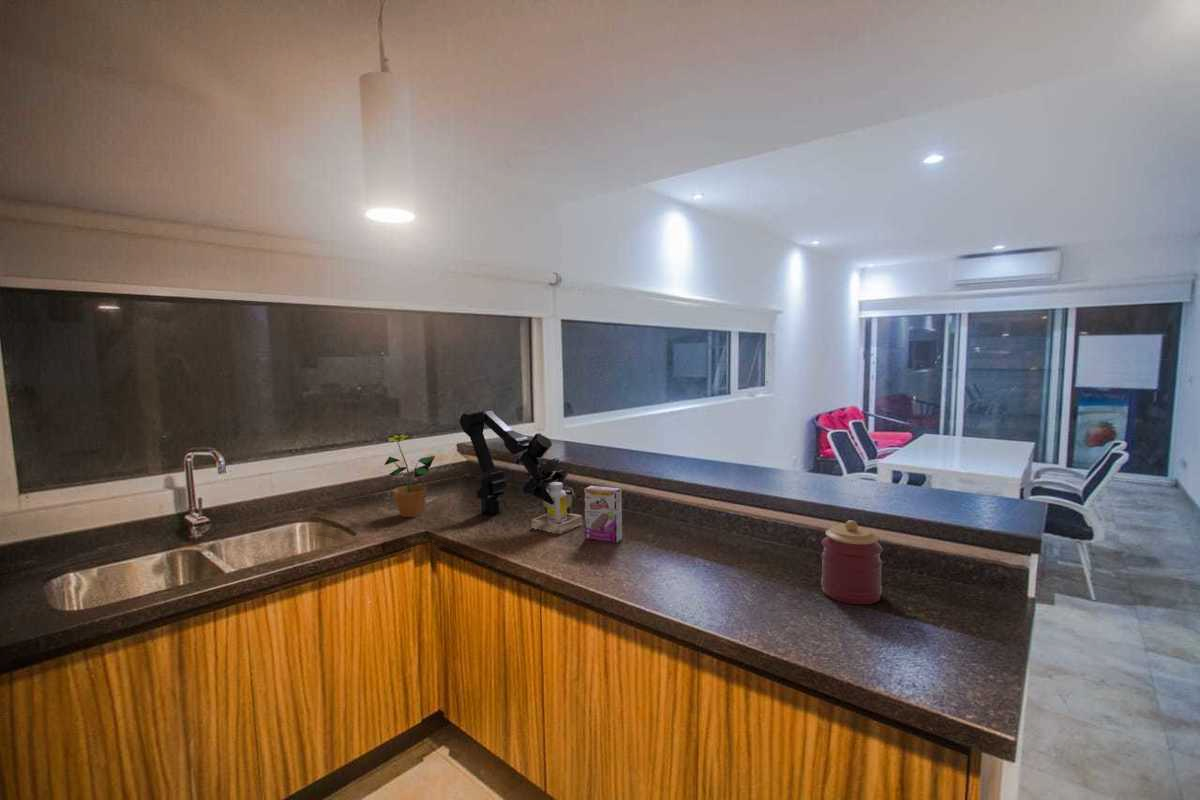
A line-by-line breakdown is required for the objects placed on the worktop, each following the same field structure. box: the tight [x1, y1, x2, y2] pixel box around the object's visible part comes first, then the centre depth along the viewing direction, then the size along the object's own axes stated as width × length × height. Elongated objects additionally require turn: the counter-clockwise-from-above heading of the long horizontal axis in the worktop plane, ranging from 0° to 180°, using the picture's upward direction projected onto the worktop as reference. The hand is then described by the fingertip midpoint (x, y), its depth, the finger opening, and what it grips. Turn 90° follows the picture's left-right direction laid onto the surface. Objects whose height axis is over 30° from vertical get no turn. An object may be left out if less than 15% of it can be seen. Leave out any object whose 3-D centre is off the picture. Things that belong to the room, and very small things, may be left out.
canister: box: [820, 519, 883, 605], centre depth 126 cm, size 13×13×18 cm
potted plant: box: [384, 433, 436, 519], centre depth 199 cm, size 18×19×30 cm
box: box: [530, 513, 584, 535], centre depth 183 cm, size 12×12×3 cm
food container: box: [542, 485, 575, 515], centre depth 196 cm, size 12×6×10 cm, turn 84°
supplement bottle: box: [547, 482, 567, 523], centre depth 182 cm, size 7×7×13 cm
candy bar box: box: [583, 485, 623, 544], centre depth 168 cm, size 11×5×16 cm, turn 65°
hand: (559, 501), depth 181 cm, fingers open, 7 cm apart
